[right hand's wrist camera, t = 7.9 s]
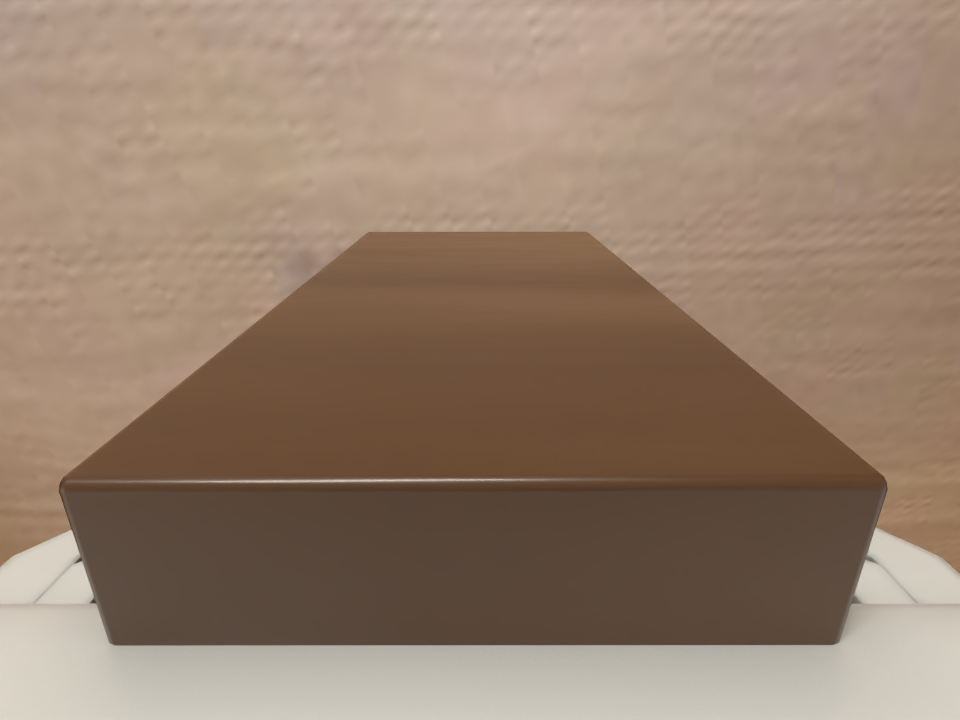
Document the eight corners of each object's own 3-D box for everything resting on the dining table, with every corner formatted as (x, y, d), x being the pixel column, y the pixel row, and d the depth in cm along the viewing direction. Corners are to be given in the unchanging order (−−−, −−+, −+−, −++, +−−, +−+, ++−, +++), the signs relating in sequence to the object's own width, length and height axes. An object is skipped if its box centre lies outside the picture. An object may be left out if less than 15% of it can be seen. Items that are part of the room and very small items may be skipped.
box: (366, 231, 15) (48, 482, 4) (588, 231, 15) (897, 480, 4) (405, 743, 22) (333, 1325, 11) (553, 743, 22) (625, 1325, 11)
